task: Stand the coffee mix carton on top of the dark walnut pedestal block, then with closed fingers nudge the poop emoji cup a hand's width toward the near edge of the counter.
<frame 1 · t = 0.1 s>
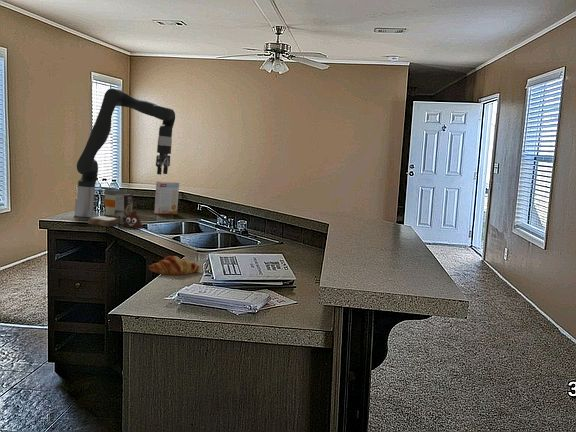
hand: (162, 174, 329), 29 cm above the table, tool pointing down, fingers open, 8 cm apart
croissant: (175, 273, 224), on the table
pedestal: (104, 224, 320), on the table
poop emoji: (132, 227, 321), on the table
reusable coffee cup: (113, 214, 359), on the table
cracker box: (165, 214, 387), on the table
coffee box: (122, 223, 331), on the table
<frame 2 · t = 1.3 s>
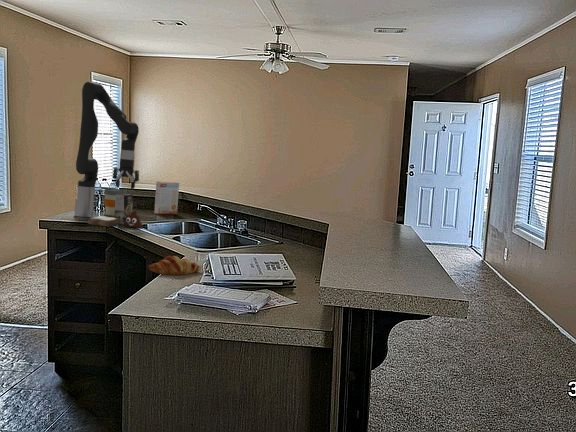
hand: (125, 187, 328), 20 cm above the table, tool pointing down, fingers open, 8 cm apart
nothing on the table moved.
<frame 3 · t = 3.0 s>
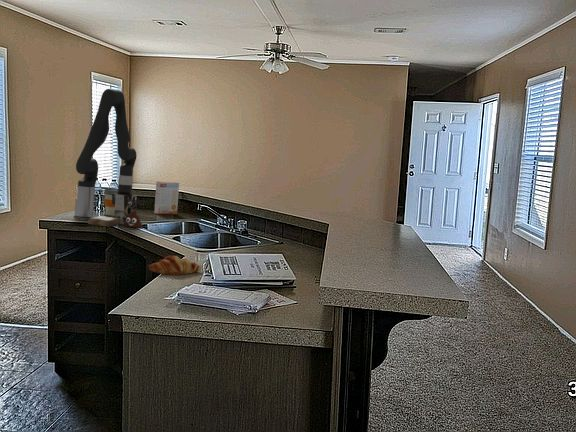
hand: (123, 213, 330), 5 cm above the table, tool pointing down, fingers closed on coffee box, 6 cm apart
coffee box: (122, 223, 331), on the table, touching gripper
everything else where it was.
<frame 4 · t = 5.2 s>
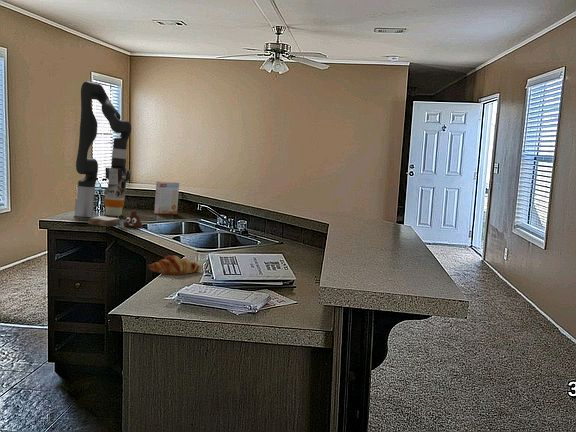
hand: (116, 187, 324), 20 cm above the table, tool pointing down, fingers closed on coffee box, 6 cm apart
coffee box: (116, 197, 325), point 14 cm above the table, touching gripper
everything else where it was.
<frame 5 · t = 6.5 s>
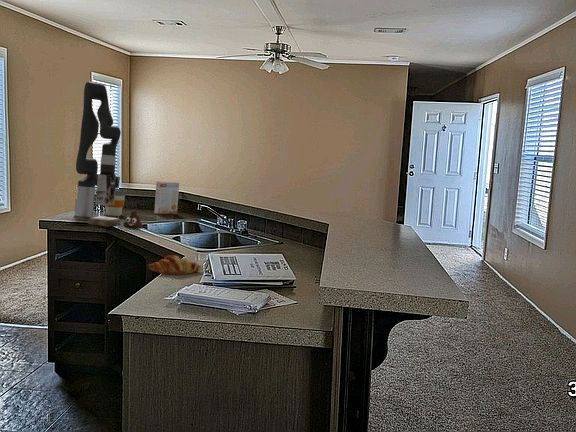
hand: (106, 194, 319), 16 cm above the table, tool pointing down, fingers closed on coffee box, 6 cm apart
coffee box: (105, 204, 319), point 10 cm above the table, touching gripper
everything else where it was.
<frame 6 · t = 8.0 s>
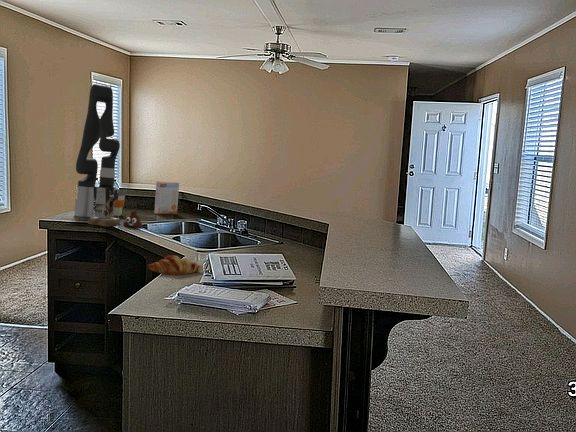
hand: (105, 207, 319), 9 cm above the table, tool pointing down, fingers closed on coffee box, 6 cm apart
coffee box: (104, 217, 320), point 4 cm above the table, touching gripper
everything else where it was.
when the fingers open (9 cm above the table, at t = 8.2 s): coffee box stays where it is, resting on pedestal.
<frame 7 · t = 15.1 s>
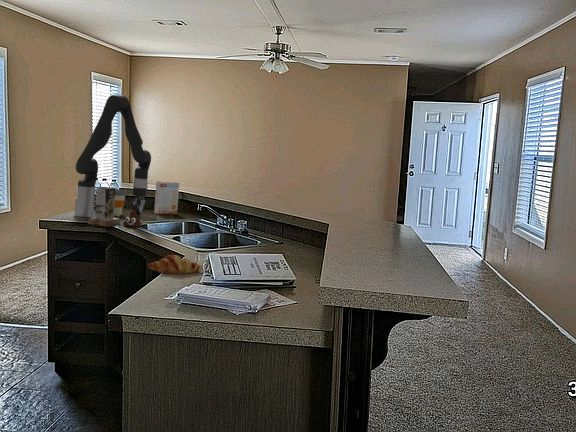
hand: (138, 218, 326), 4 cm above the table, tool pointing down, fingers closed
poop emoji: (132, 226, 322), on the table, touching gripper
coffee box: (104, 218, 320), point 3 cm above the table, touching pedestal
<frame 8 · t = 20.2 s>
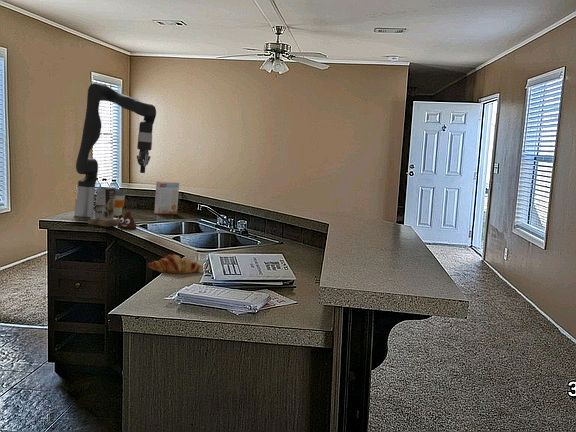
hand: (142, 172, 324), 29 cm above the table, tool pointing down, fingers closed
poop emoji: (126, 228, 316), on the table
at the end: coffee box 0.1 cm from the pedestal (horizontally); coffee box tilted 0°; poop emoji moved 5.2 cm from its start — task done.
